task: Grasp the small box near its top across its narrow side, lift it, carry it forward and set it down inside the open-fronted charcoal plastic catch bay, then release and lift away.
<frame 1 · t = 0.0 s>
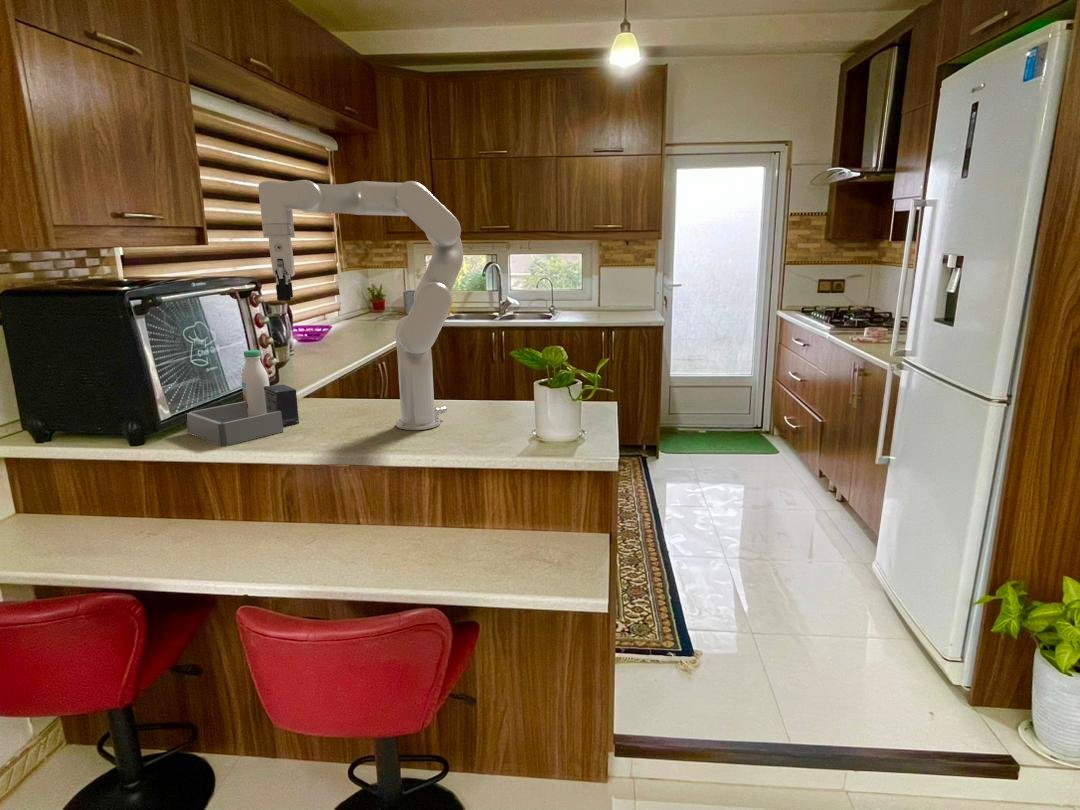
hand: (285, 299, 175), 37 cm above the table, tool pointing down, fingers open, 9 cm apart
milk bottle: (259, 415, 207), on the table
bay: (237, 432, 188), on the table
small box: (283, 422, 198), on the table
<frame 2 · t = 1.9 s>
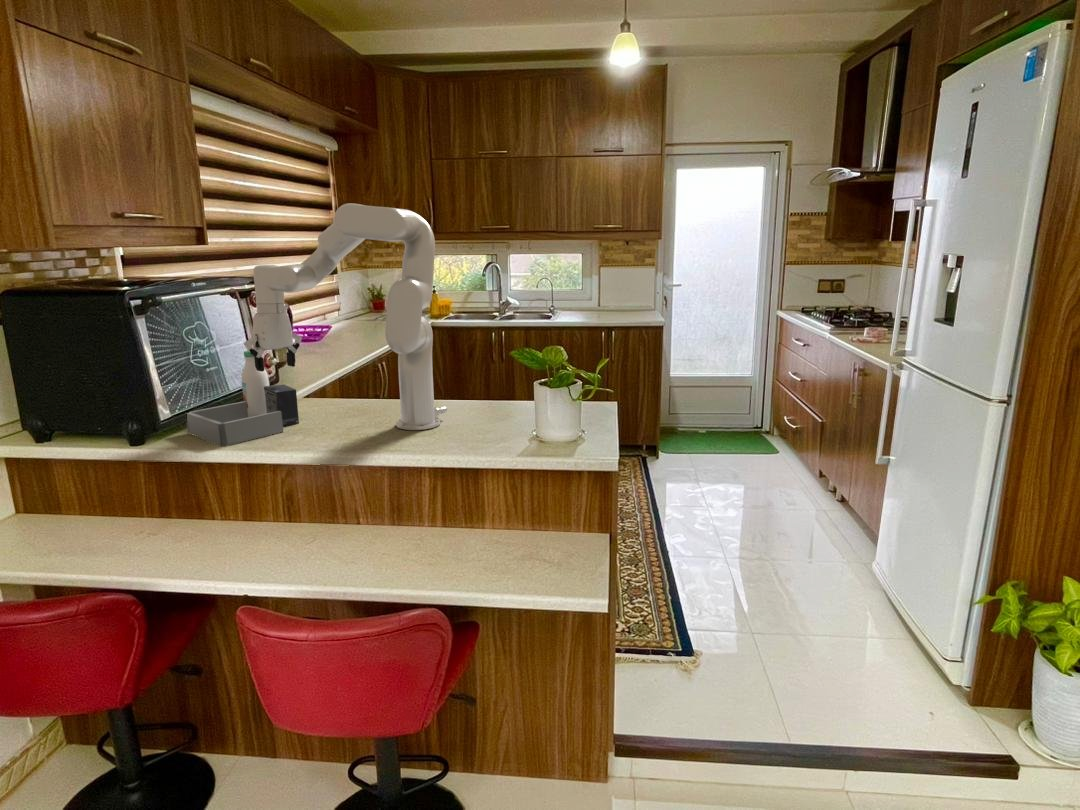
hand: (276, 368, 194), 16 cm above the table, tool pointing down, fingers open, 9 cm apart
nothing on the table moved.
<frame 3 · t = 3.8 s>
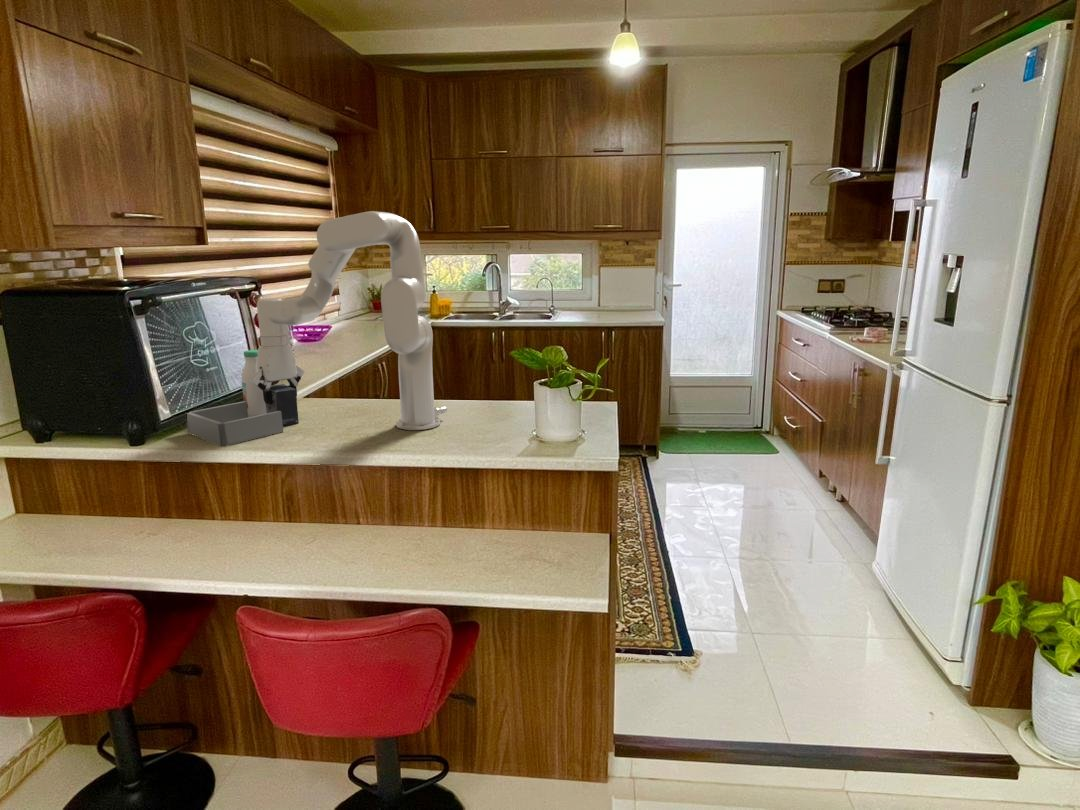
hand: (281, 401, 197), 6 cm above the table, tool pointing down, fingers closed on small box, 7 cm apart
small box: (283, 422, 198), on the table, touching gripper
everything else where it was.
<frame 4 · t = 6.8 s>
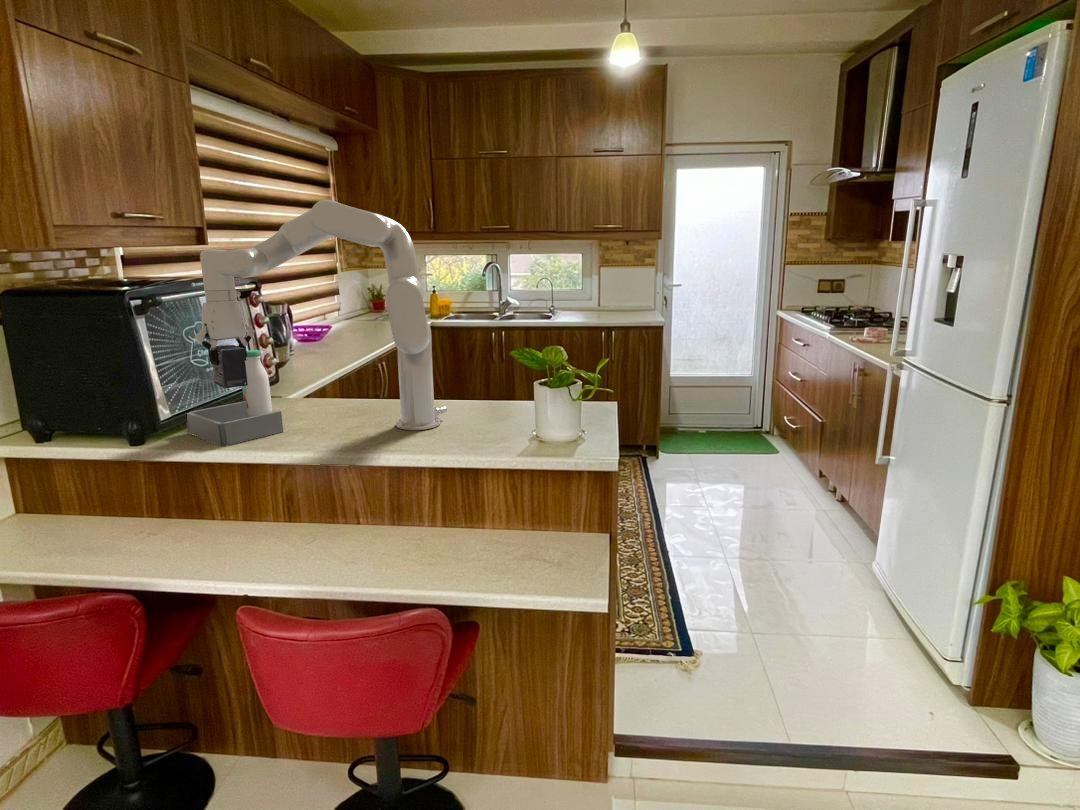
hand: (229, 361, 183), 20 cm above the table, tool pointing down, fingers closed on small box, 7 cm apart
small box: (231, 385, 184), point 14 cm above the table, touching gripper
everything else where it was.
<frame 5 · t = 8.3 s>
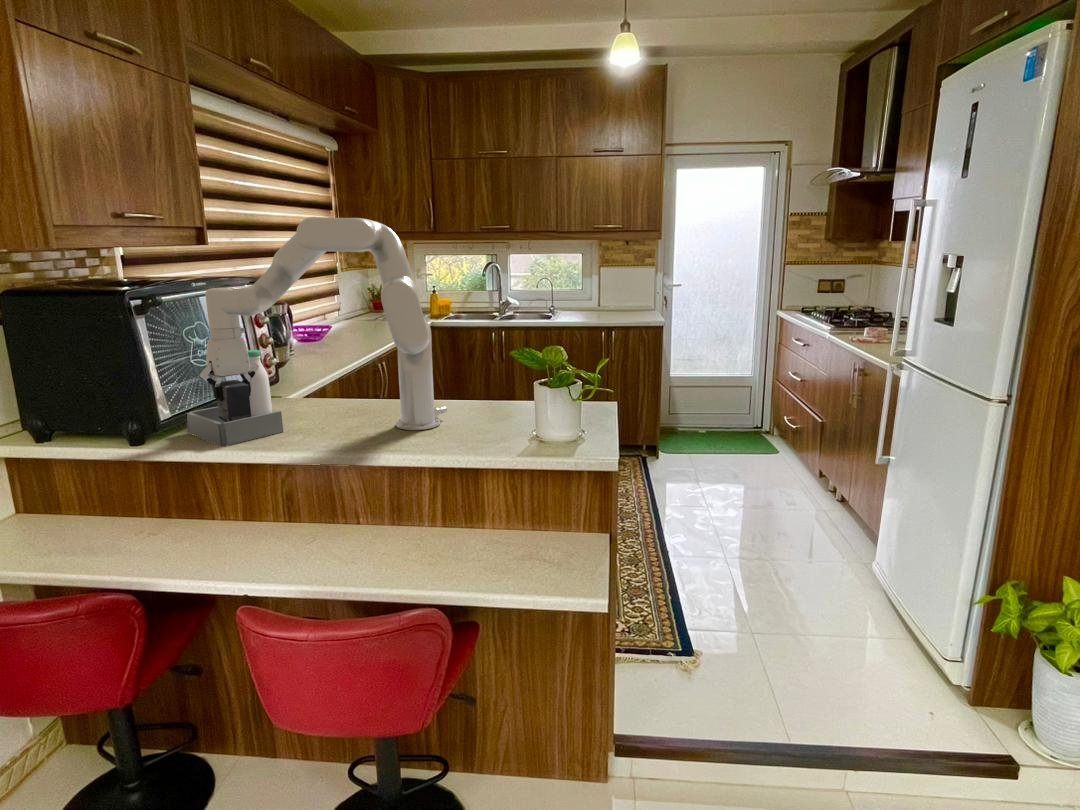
hand: (233, 397, 185), 10 cm above the table, tool pointing down, fingers closed on small box, 7 cm apart
small box: (235, 420, 187), point 4 cm above the table, touching gripper
everything else where it was.
when the fingers open (8 cm above the table, at t = 9.8 s): small box drops 1 cm, resting in bay.
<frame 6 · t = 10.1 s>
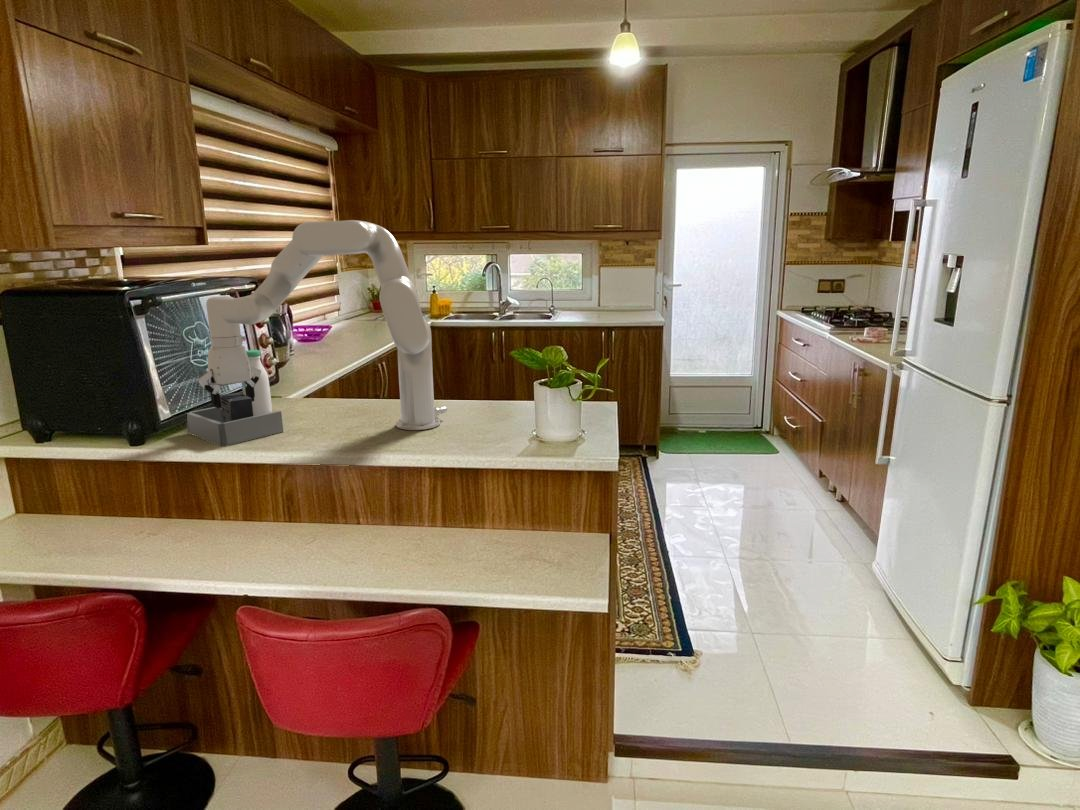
hand: (234, 403, 186), 8 cm above the table, tool pointing down, fingers open, 9 cm apart
small box: (239, 433, 188), resting in bay
everything else where it was.
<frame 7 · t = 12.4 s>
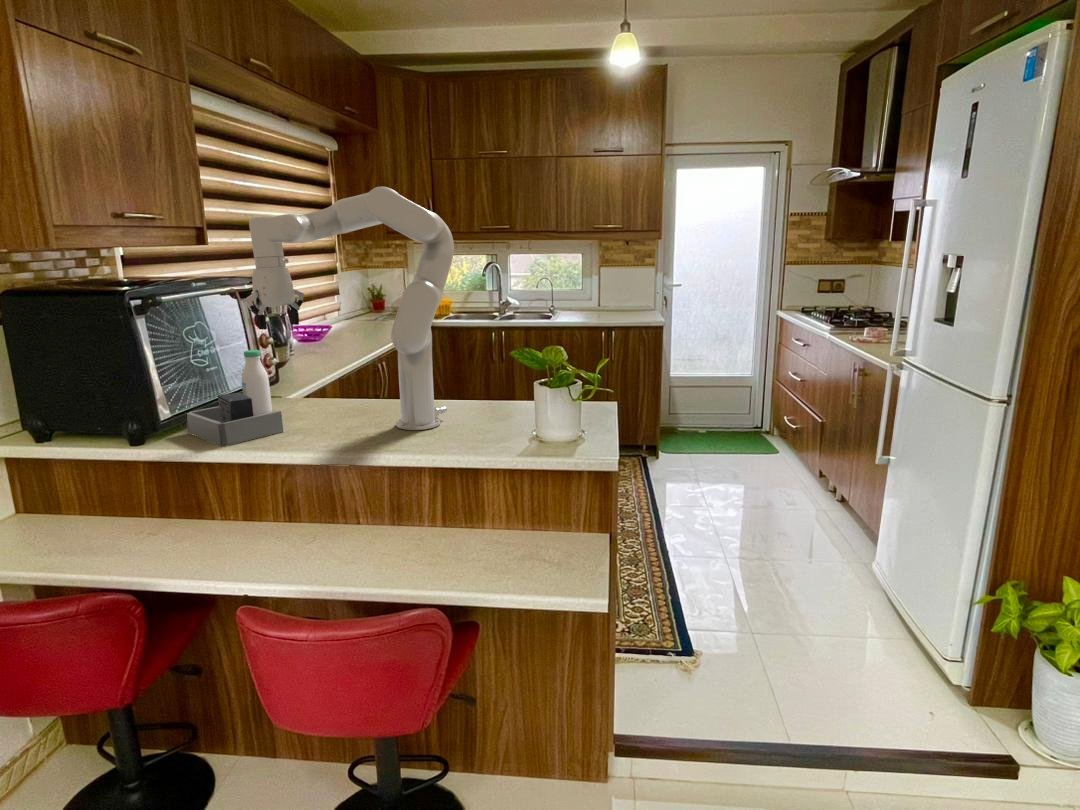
hand: (279, 326, 185), 29 cm above the table, tool pointing down, fingers open, 9 cm apart
nothing on the table moved.
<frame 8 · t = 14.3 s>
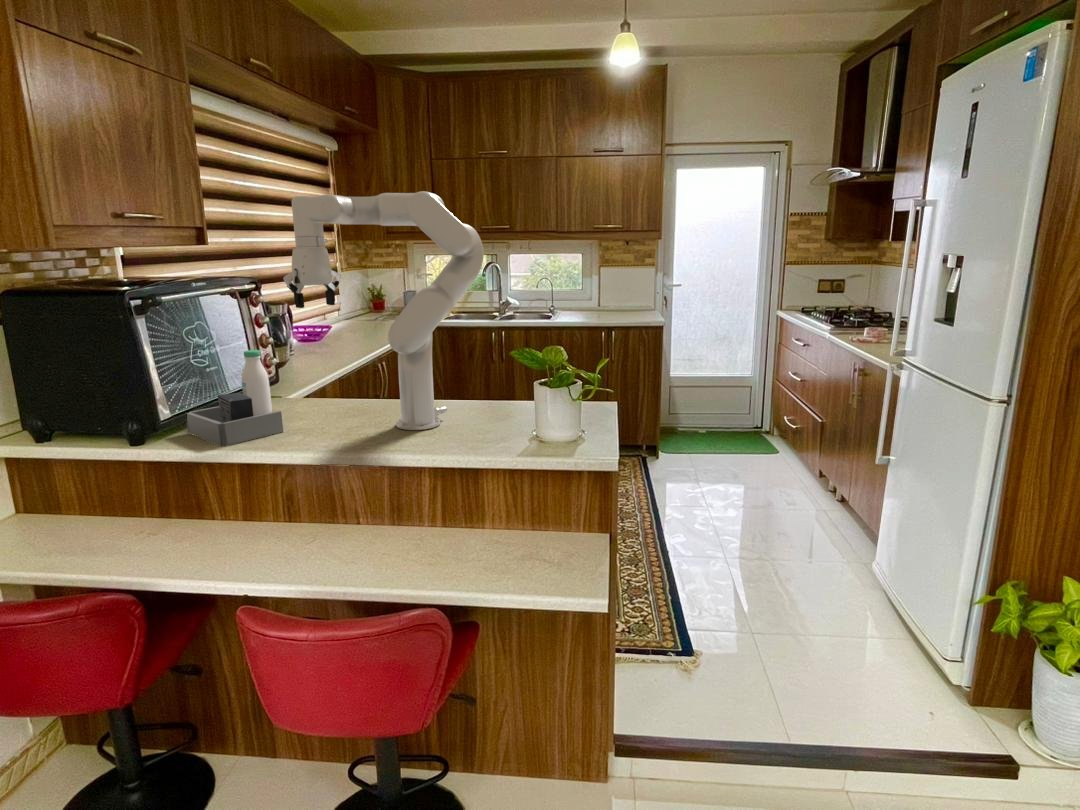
hand: (315, 306, 186), 34 cm above the table, tool pointing down, fingers open, 9 cm apart
nothing on the table moved.
at the end: small box inside the target area on the bay (0.6 cm from its centre), point 0.0 cm above the bay's base; small box moved 13.7 cm from its start; the gripper is holding nothing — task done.
